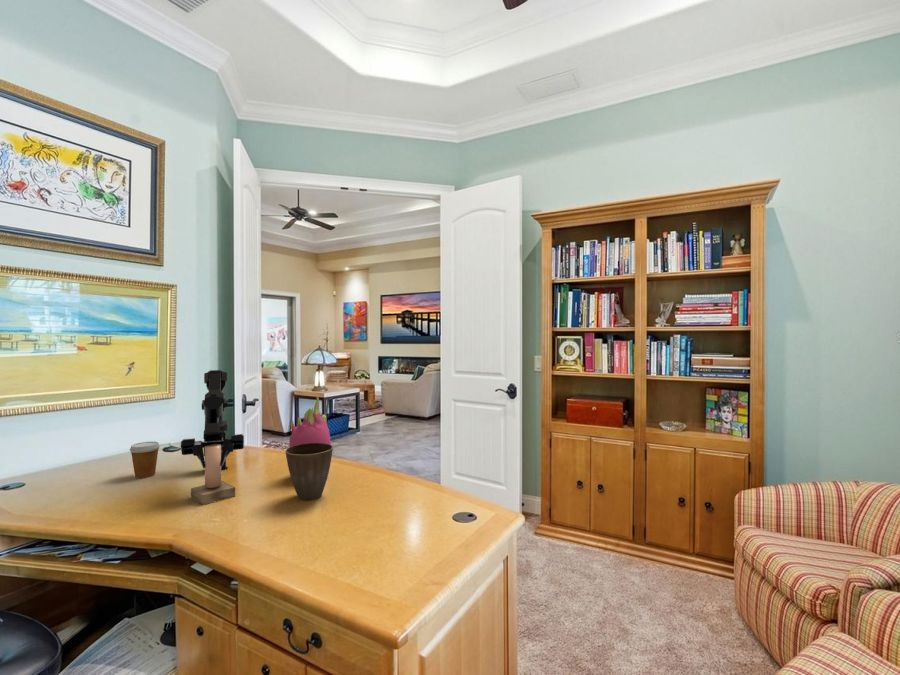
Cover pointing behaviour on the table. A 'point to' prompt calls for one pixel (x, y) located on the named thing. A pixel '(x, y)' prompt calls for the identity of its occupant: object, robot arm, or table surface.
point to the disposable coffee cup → (144, 458)
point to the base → (212, 493)
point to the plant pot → (309, 468)
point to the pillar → (212, 465)
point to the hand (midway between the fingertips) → (212, 466)
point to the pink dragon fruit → (311, 428)
